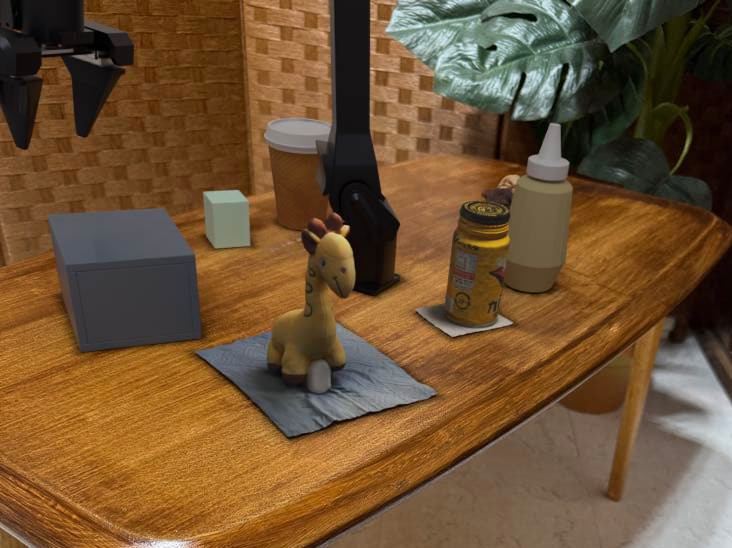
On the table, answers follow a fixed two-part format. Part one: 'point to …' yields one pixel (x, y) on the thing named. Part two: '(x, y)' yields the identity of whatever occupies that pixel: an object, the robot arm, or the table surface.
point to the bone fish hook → (502, 191)
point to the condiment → (474, 271)
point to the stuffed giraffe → (316, 351)
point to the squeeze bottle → (540, 219)
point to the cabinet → (126, 278)
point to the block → (227, 218)
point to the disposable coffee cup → (297, 170)
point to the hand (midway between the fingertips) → (53, 142)
